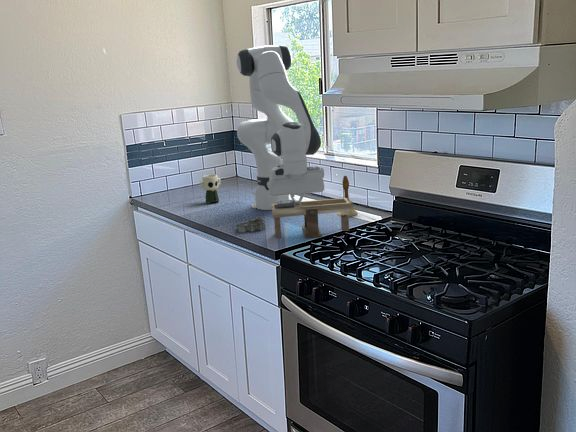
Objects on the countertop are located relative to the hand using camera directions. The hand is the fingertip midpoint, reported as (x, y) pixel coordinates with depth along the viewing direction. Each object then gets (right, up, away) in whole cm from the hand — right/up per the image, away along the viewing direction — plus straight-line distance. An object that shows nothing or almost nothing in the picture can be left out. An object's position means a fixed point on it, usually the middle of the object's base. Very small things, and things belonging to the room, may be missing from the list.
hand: (297, 205), depth 214 cm
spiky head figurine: (-39, +2, +64) cm, 75 cm away
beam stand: (+5, -10, +3) cm, 12 cm away
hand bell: (+21, -3, +26) cm, 33 cm away
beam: (+5, -1, +1) cm, 5 cm away
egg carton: (-18, -9, +13) cm, 24 cm away
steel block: (-4, -2, 0) cm, 5 cm away
